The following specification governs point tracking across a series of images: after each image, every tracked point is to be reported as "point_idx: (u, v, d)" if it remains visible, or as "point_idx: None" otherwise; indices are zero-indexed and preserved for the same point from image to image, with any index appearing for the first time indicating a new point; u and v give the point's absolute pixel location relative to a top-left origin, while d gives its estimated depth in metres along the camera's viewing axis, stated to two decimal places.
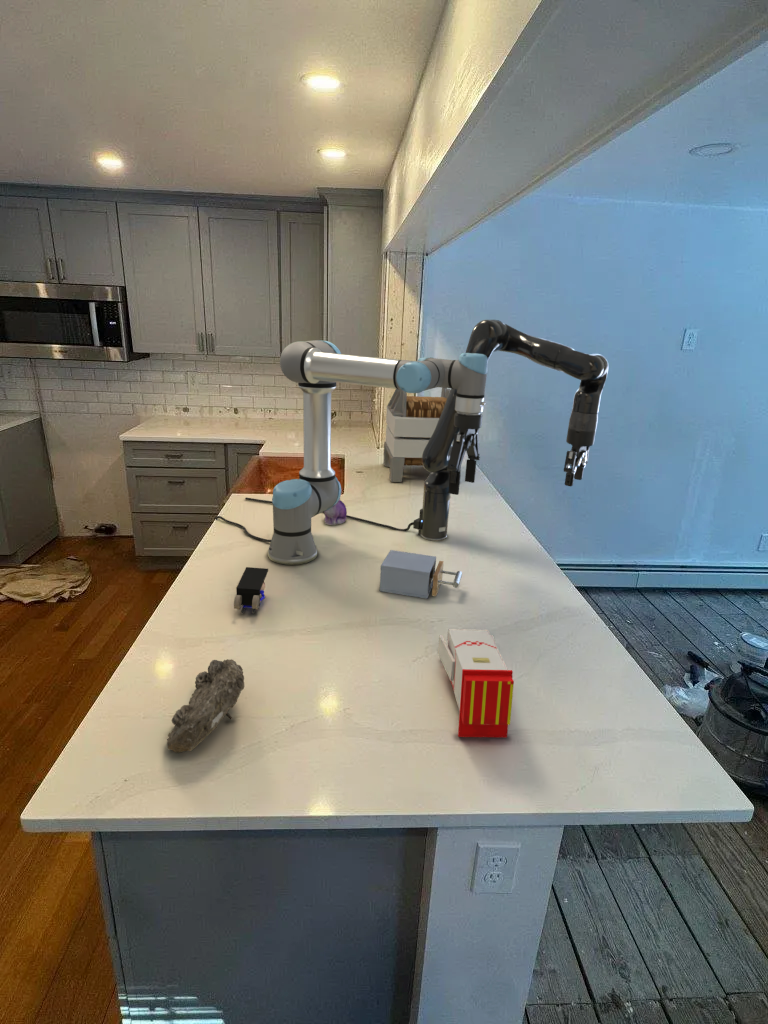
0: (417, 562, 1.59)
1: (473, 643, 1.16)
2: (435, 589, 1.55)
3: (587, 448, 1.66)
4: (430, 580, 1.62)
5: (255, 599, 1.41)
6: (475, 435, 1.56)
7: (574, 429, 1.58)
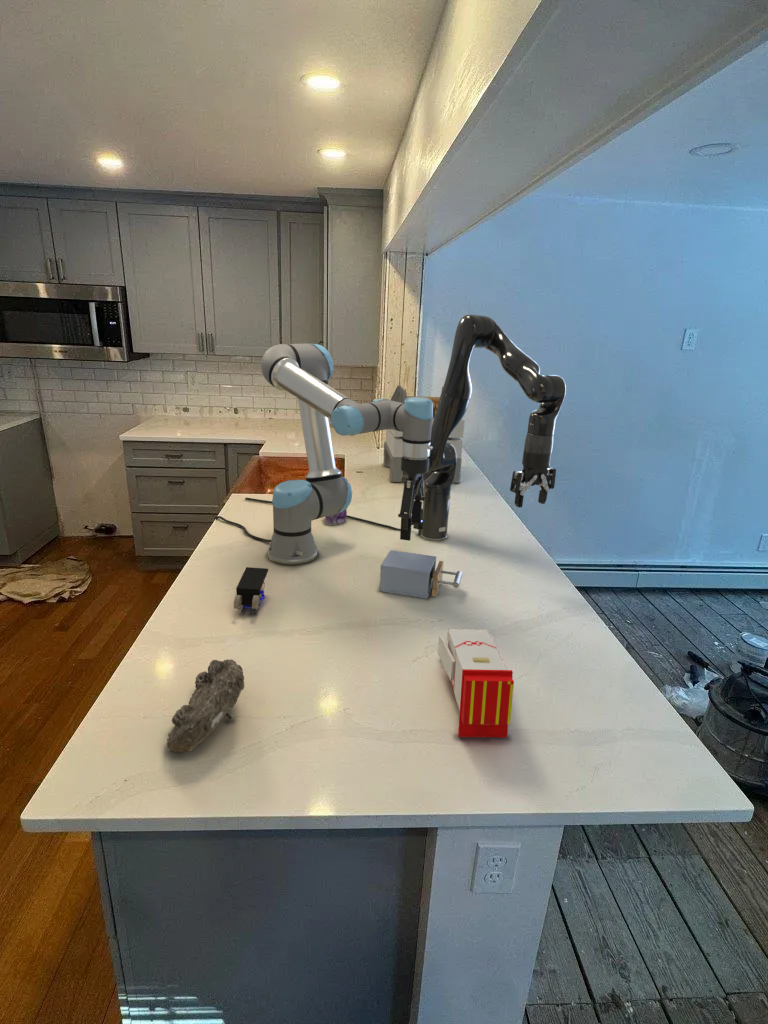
0: (417, 562, 1.59)
1: (473, 643, 1.16)
2: (435, 589, 1.55)
3: (551, 472, 1.60)
4: (430, 580, 1.62)
5: (255, 599, 1.41)
6: (422, 478, 1.54)
7: (525, 450, 1.55)
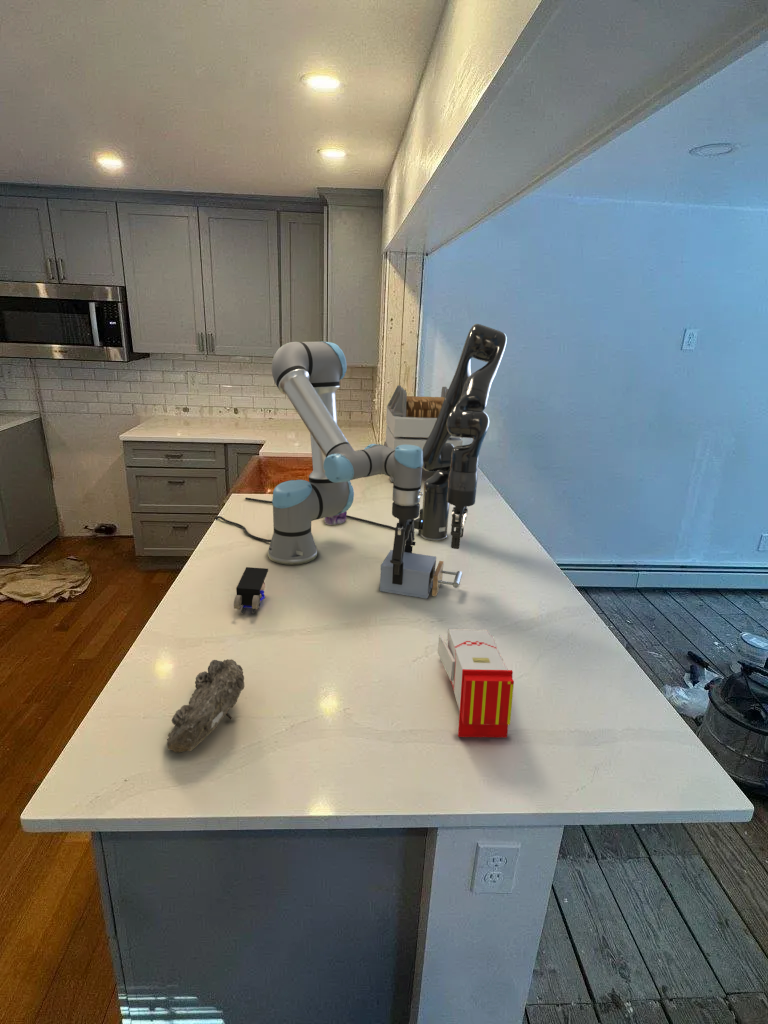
0: (417, 562, 1.59)
1: (473, 643, 1.16)
2: (435, 589, 1.55)
3: None
4: (430, 580, 1.62)
5: (255, 599, 1.41)
6: (413, 522, 1.58)
7: None
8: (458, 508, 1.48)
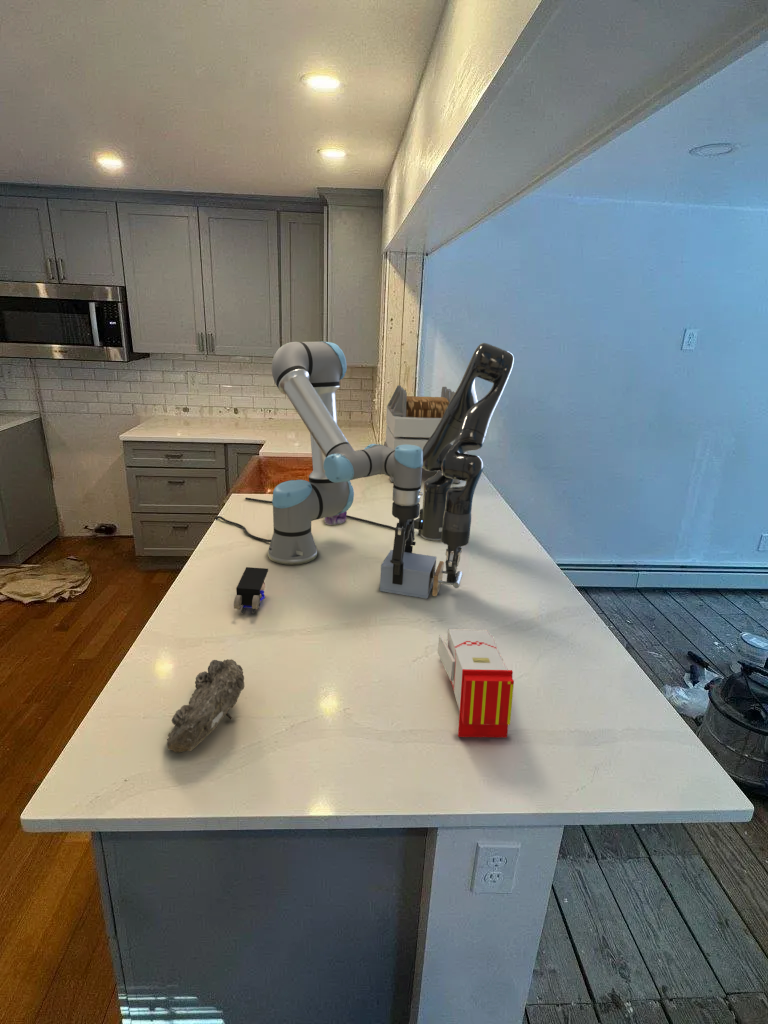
0: (417, 562, 1.59)
1: (473, 643, 1.16)
2: (435, 589, 1.55)
3: None
4: (430, 580, 1.62)
5: (255, 599, 1.41)
6: (413, 522, 1.58)
7: None
8: (451, 547, 1.51)
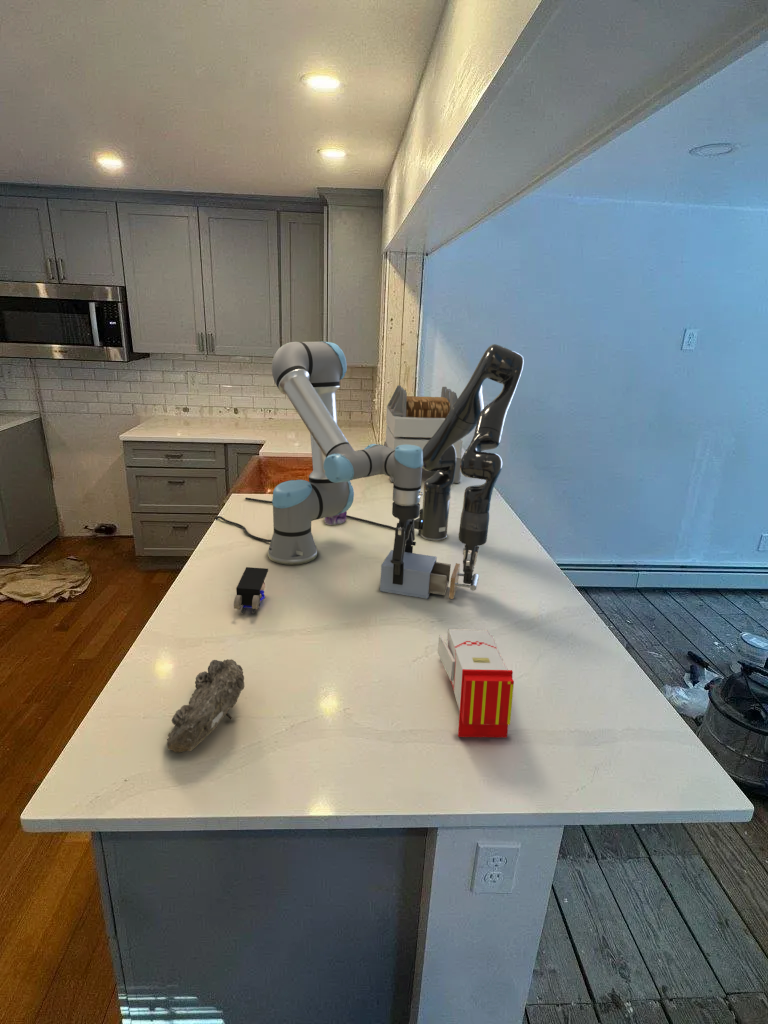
0: (417, 562, 1.59)
1: (473, 643, 1.16)
2: (452, 592, 1.54)
3: None
4: (446, 583, 1.61)
5: (255, 599, 1.41)
6: (413, 522, 1.58)
7: None
8: (469, 547, 1.50)
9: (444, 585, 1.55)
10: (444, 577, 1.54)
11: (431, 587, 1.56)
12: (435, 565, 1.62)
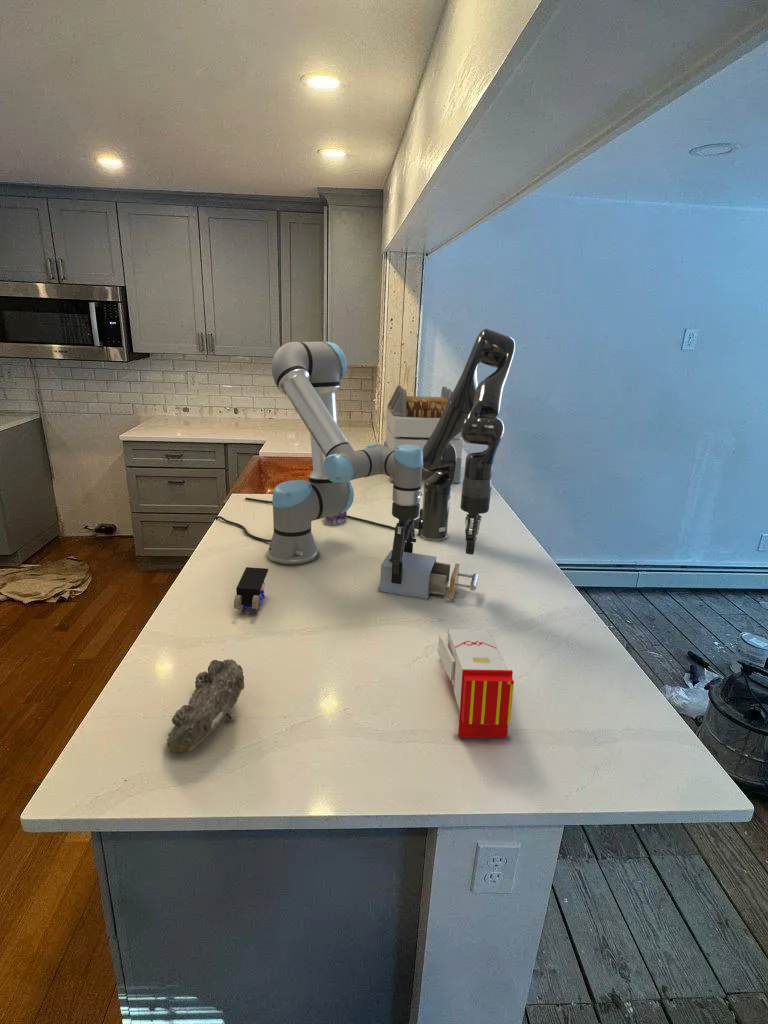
0: (417, 562, 1.59)
1: (473, 643, 1.16)
2: (452, 592, 1.54)
3: None
4: (446, 583, 1.61)
5: (255, 599, 1.41)
6: (413, 522, 1.58)
7: None
8: (471, 515, 1.47)
9: (444, 585, 1.55)
10: (443, 577, 1.54)
11: (431, 587, 1.56)
12: (435, 565, 1.62)
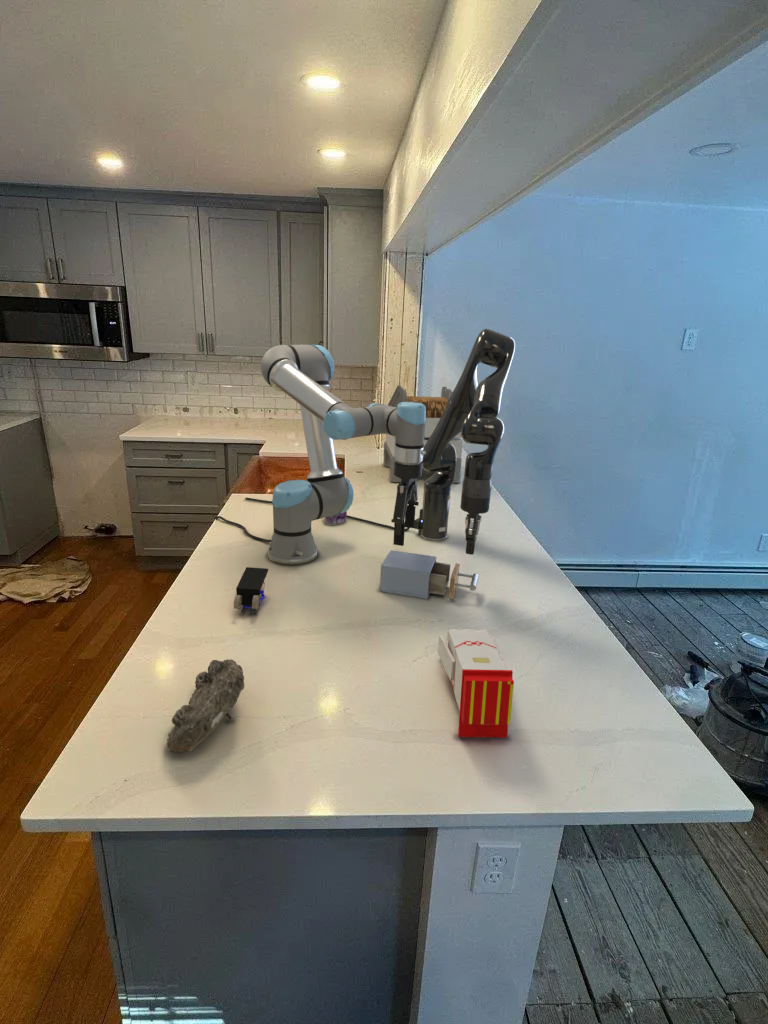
0: (417, 562, 1.59)
1: (473, 643, 1.16)
2: (452, 592, 1.54)
3: None
4: (446, 583, 1.61)
5: (255, 599, 1.41)
6: (415, 483, 1.54)
7: None
8: (471, 515, 1.47)
9: (444, 585, 1.55)
10: (443, 577, 1.54)
11: (431, 587, 1.56)
12: (435, 565, 1.62)
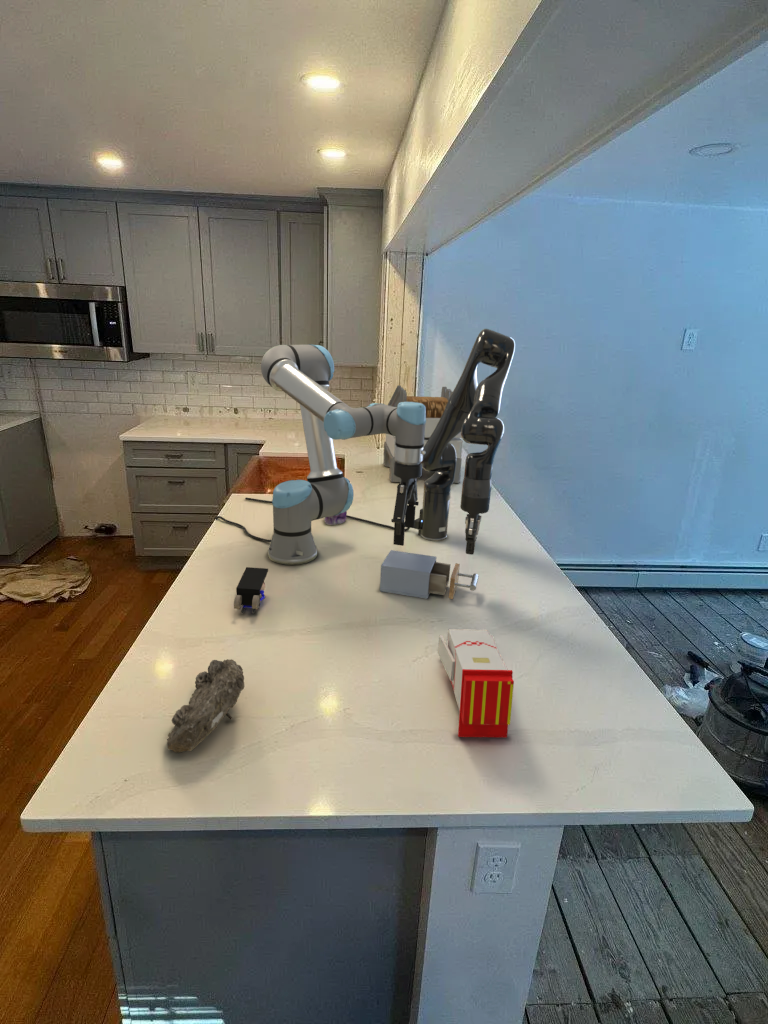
0: (417, 562, 1.59)
1: (473, 643, 1.16)
2: (452, 592, 1.54)
3: None
4: (446, 583, 1.61)
5: (255, 599, 1.41)
6: (415, 483, 1.54)
7: None
8: (471, 515, 1.47)
9: (444, 585, 1.55)
10: (443, 577, 1.54)
11: (431, 587, 1.56)
12: (435, 565, 1.62)
